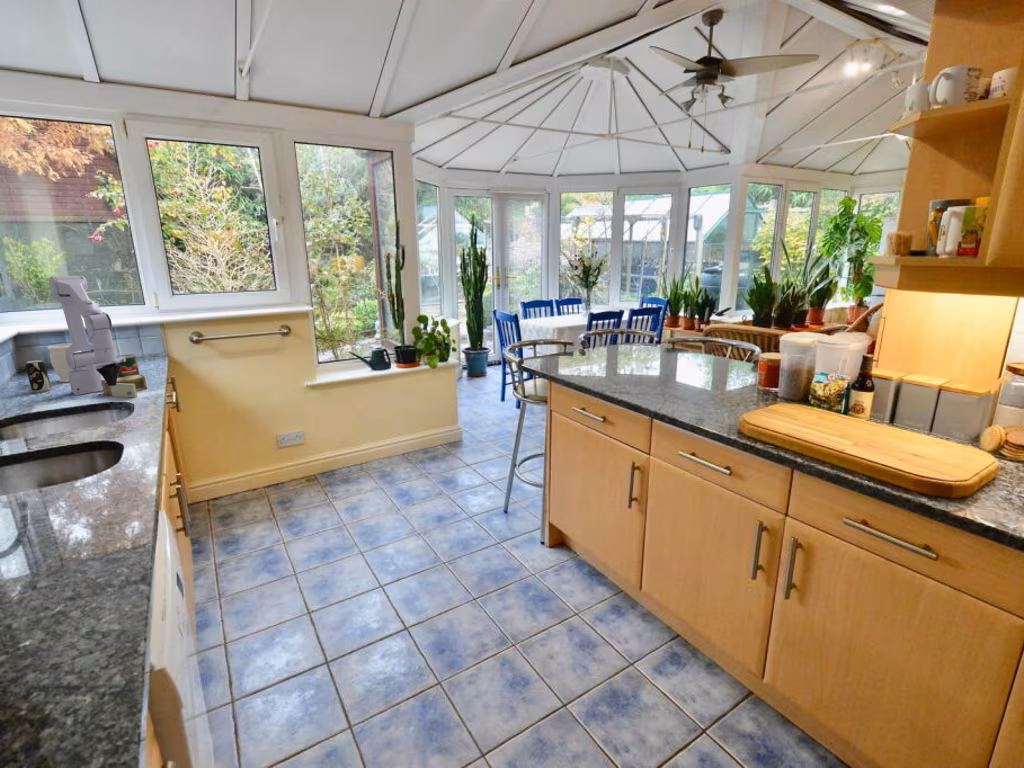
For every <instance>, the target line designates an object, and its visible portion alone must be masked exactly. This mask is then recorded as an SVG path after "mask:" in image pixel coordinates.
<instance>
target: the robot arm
mask: <svg viewBox="0 0 1024 768" xmlns="http://www.w3.org/2000/svg"><path fill="white" fill-rule="evenodd" d="M48 285H49V289H50V292H51V296H52V298H53V299H54V300H56V301H59V303H60V305H61V307H62V310H63V315H64V318H65V321H66V325H67V329H68V332H69V336H70V340H71V343H72V345H71V346H69V347H68V348H67V349H66V350H65V354H66V362H67V365H68V367H69V368H70V369H72V370H73V371H68V376H69V381H70V382H69V384H70V389H71V392H72V393H73V394H74V395H75V396H78V395H83V394H91V393H96V392H104V391H103V386H102V382H101V380H102V378H103V380H105V381H106V383H107V384H108V386H115V385H116V384H117V375H118V372H119V369H120V365H116V364H117V363H120V362H125V361H126V358H125V356H119V355H118V356H119V357H116V356H117V355H116V349H115V345H114V341H113V336H112V331H111V330H113V329H112V328H113V323H112V318H111V316H110V315H109V313H107V312H105V311H102V310H101V309H100V306H99V305H98V304H97V302H96V301H94V300H91V299H90V297H89V295H88V294H87V292H88V289H89V287H88V286H89V285H88V281H87V279H86V277H85V276H83V274H80V275H65V276H63V275H62V276H59V275H58V276H57V275H56V276H53V275H52V276H50V277H49V278H48ZM86 330H87V331H86ZM86 332H87V333H88V336H89V337H90V340H91V343H90V342H89V339H88V336H87V333H86ZM76 351H81V352H77V353H74V352H76ZM101 376H102V377H101Z"/></svg>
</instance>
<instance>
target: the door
mask: <svg viewBox="0 0 1024 768" xmlns="http://www.w3.org/2000/svg"><path fill="white" fill-rule="evenodd" d="M107 385H108V384H107ZM108 389H109V394H110V396H109V397H117V398H118V397H120V398H138V393H137V391H136V388H135V384H125V383H117V384H116V385H115V386H108Z"/></svg>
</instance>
